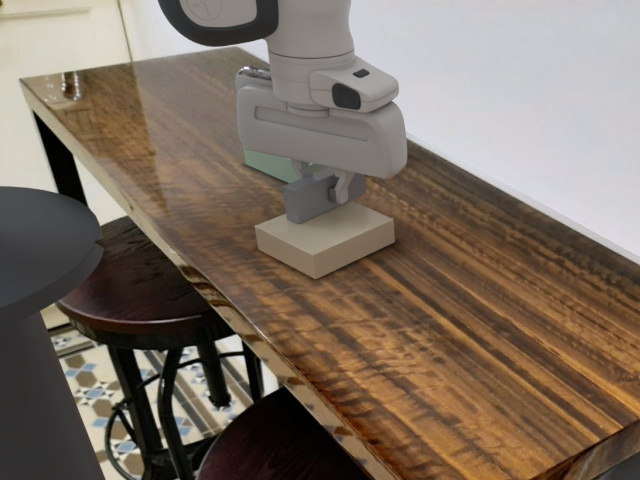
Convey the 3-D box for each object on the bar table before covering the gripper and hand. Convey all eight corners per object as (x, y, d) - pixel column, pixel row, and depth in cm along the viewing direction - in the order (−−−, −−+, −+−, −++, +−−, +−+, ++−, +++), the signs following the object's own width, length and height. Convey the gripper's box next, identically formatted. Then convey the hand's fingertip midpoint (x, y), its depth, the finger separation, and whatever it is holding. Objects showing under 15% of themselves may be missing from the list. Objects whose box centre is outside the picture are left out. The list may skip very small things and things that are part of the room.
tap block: (315, 279, 80) (312, 255, 78) (258, 249, 85) (253, 225, 83) (395, 242, 88) (393, 218, 86) (338, 216, 92) (335, 193, 91)
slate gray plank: (298, 224, 84) (294, 188, 81) (286, 219, 84) (281, 183, 82) (366, 193, 91) (363, 160, 88) (354, 189, 92) (351, 156, 89)
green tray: (308, 192, 98) (305, 166, 96) (245, 164, 104) (241, 139, 102) (403, 157, 109) (402, 132, 107) (340, 133, 116) (338, 110, 113)
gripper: (214, 69, 79) (235, 191, 88) (383, 99, 74) (388, 226, 82) (251, 55, 84) (268, 172, 92) (412, 83, 78) (415, 205, 87)
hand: (326, 198), depth 87 cm, fingers closed on slate gray plank, 2 cm apart
